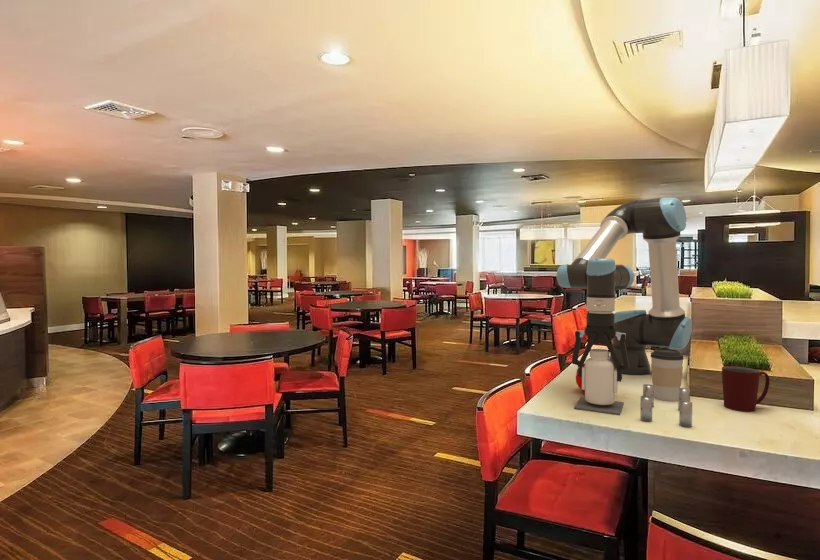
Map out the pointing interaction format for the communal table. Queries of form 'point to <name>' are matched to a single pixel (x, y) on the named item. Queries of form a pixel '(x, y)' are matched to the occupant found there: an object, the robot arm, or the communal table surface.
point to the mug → (742, 387)
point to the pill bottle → (599, 378)
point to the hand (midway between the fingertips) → (599, 390)
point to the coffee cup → (666, 373)
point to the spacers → (683, 405)
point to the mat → (599, 407)
